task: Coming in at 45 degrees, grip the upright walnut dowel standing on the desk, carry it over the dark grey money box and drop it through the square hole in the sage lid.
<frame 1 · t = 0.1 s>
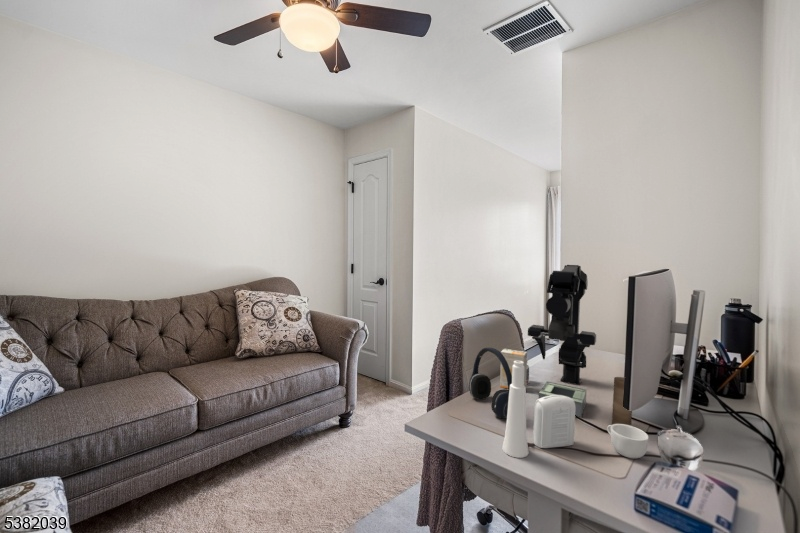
hand: (559, 361, 109), 15 cm above the table, tool pointing down, fingers open, 9 cm apart
pill bottle: (521, 382, 131), on the table
photo printer: (553, 444, 90), on the table
walnut dowel: (621, 425, 100), on the table
supplement box: (512, 388, 126), on the table
cosmetic bottle: (515, 451, 86), on the table
money box: (562, 405, 112), on the table
headphones: (491, 408, 110), on the table
teacup: (624, 451, 87), on the table
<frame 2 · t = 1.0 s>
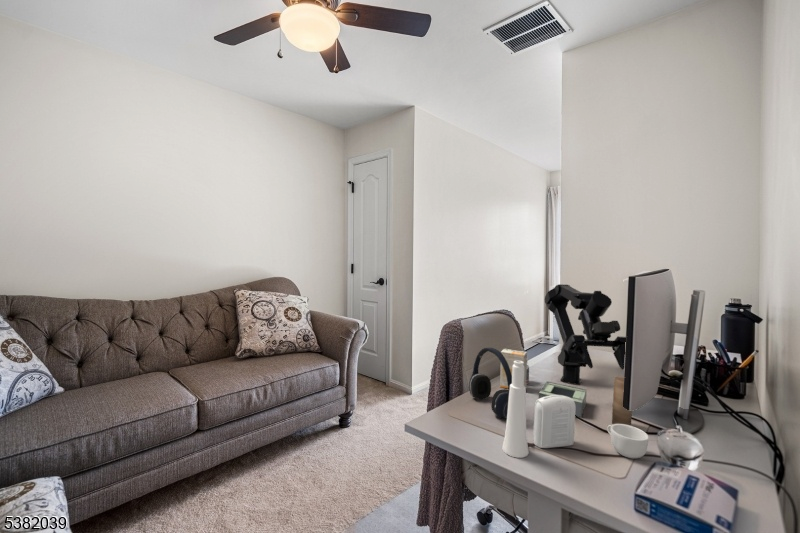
hand: (607, 368, 108), 13 cm above the table, tool tilted 45°, fingers open, 9 cm apart
nothing on the table moved.
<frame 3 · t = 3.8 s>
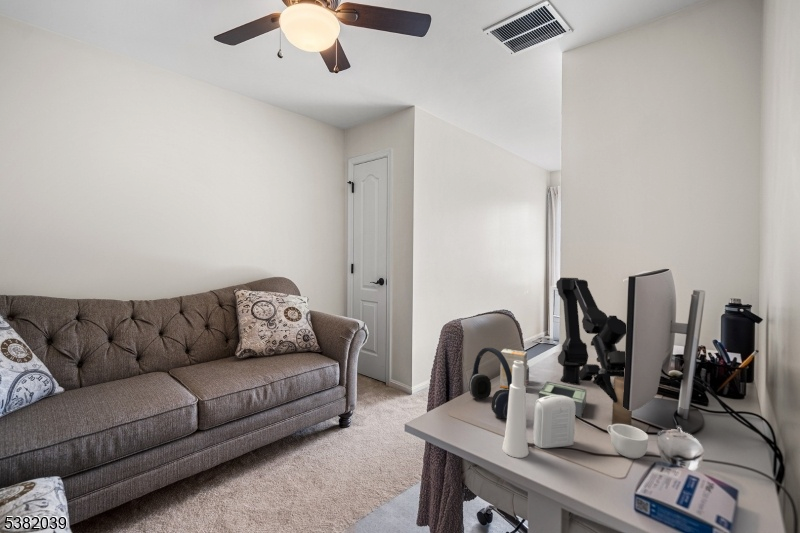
hand: (625, 402, 98), 7 cm above the table, tool tilted 45°, fingers closed on walnut dowel, 5 cm apart
walnut dowel: (621, 424, 100), on the table, touching gripper
everything else where it was.
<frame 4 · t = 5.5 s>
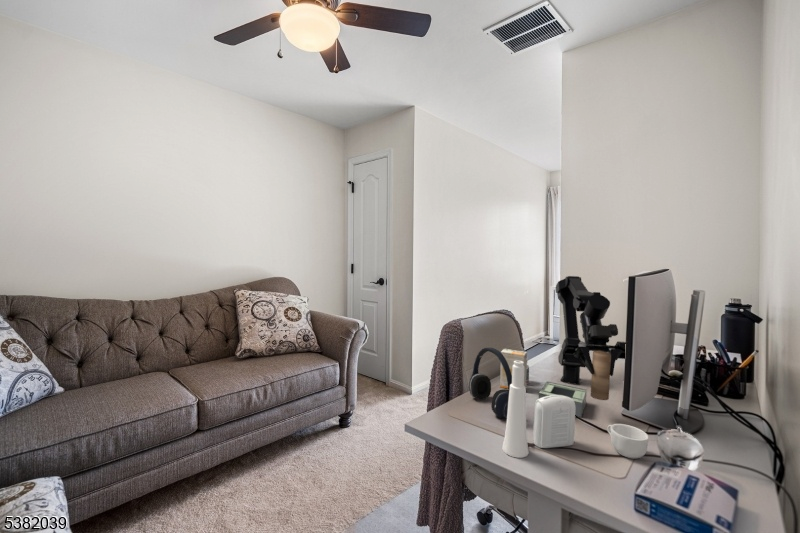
hand: (602, 374, 102), 14 cm above the table, tool tilted 45°, fingers closed on walnut dowel, 5 cm apart
walnut dowel: (599, 396, 104), point 6 cm above the table, touching gripper
everything else where it was.
when the fingers open (13 cm above the table, at t = 7.0 s): walnut dowel drops 5 cm, resting on money box.
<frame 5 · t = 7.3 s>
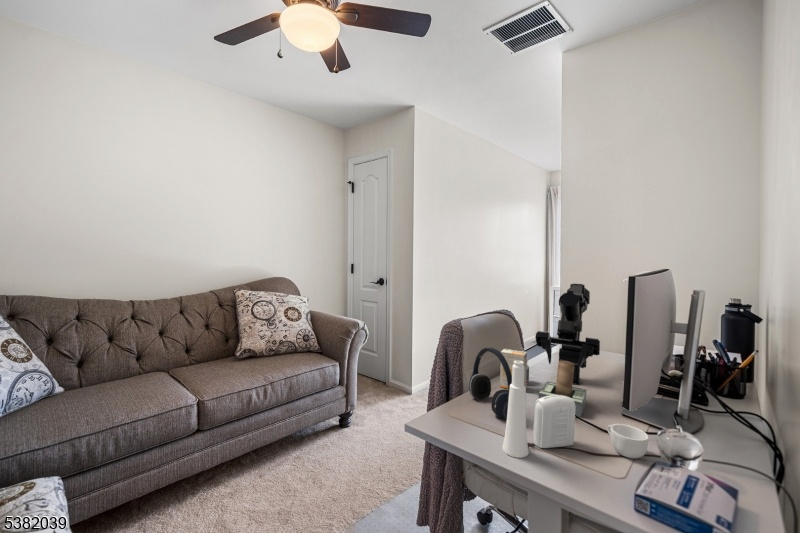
hand: (563, 365, 111), 13 cm above the table, tool tilted 45°, fingers open, 8 cm apart
walnut dowel: (562, 402, 112), point 1 cm above the table, touching money box
everything else where it was.
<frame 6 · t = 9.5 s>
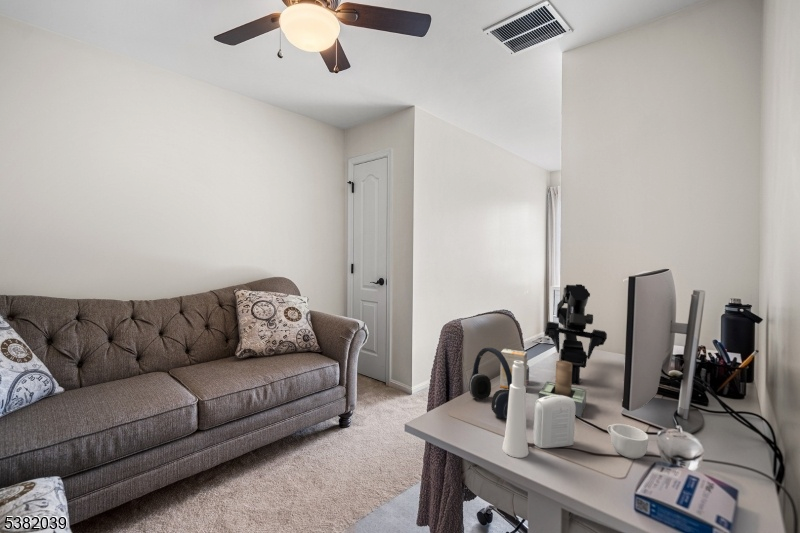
hand: (573, 355, 118), 14 cm above the table, tool tilted 40°, fingers open, 9 cm apart
nothing on the table moved.
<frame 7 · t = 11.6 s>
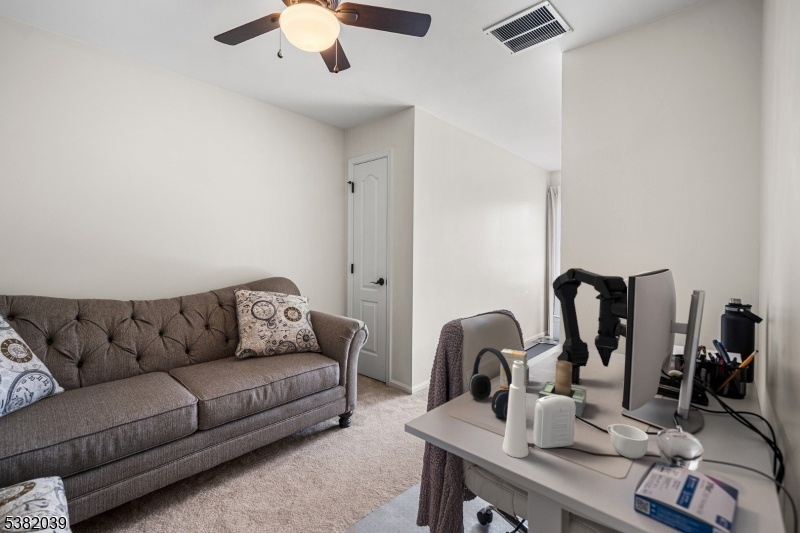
hand: (606, 362, 115), 13 cm above the table, tool pointing down, fingers open, 9 cm apart
nothing on the table moved.
at the end: walnut dowel inside the target area on the money box (0.0 cm from its centre), point 0.6 cm above the money box's base; the gripper is holding nothing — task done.
